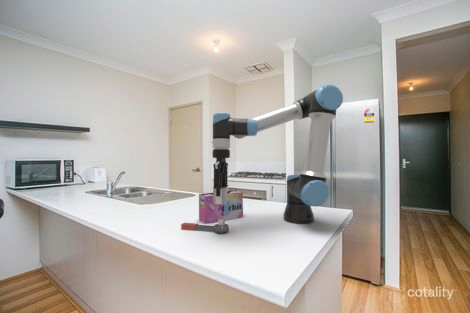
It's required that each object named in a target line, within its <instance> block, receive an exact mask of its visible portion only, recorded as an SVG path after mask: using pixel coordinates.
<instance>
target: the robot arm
mask: <svg viewBox="0 0 470 313" xmlns="http://www.w3.org/2000/svg"><path fill="white" fill-rule="evenodd" d="M343 101H344V96H343V93H342V91H341V90H340V88H339V87H337V86H336V85H334V84H330V83H329V84H324V85H322V86H319V87H318V88H317V89H315V90H314V91H312V92H310V93H308V94H307V95H305V96H304V97H302V98H300V99H298V100H295V101H293V103H292V104H290V105H287V106H284V107H280V108H278V109H276V110H273V111H269V112H266V113H263V114H260V115H258V116H255V117H252V118H234V117H231V114H230V113H229V112H220V111H219V112H215V113H214V114H213V116H212V140H211V144H212V148H213V149H212V159H216V160H215V163H213V164H212V165H213V166H212V167H213V187H212V188H216V196H215V204H222V188H221V186H227V187H228V186H229V184H228V174H229V172H228V171H229V170H228V167H229V163H228V162H227V161H226V159H230V158H231V151H230V148H231V136H232V137H234V138H236V139H243V138H246V137H255V136H257V134H258V133H260V132H262V131H265V130H268V129H271V128H273V127H277V126H280V125H283V124H285V123H288V122H291V121H294V120H298V121H299V120H303V119H306V118H310V119H311V120H310V126H309V131H308V132H309V133H308V139H307V148H306V152H305V160H304V167H303V170H302V171H301V172H300V173H299V174H290V175H289V174H288V175H287V176H286V206H285V208H284V212H283V220H284V221H285V222H289V223H293V224H310V223H313V222H314V221H315V215H314V213H313V209H312V207H319V206H321V205H323V204H324V203H325V204H326V202H327V200H328V199H329V196H330V188H329V187H328V185H327V176H326V174H325V173H324V172H325V166H326V165H325V164H326V160H327V159H326V158H327V151H328V146H329V145H328V144H329V138H330V131H331V123H332V121H333V120H334V119H335V118H336V115H337V110H338V109H339V108H340V107H341V106H342V104H343Z"/></svg>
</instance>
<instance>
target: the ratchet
mask: <svg viewBox="0 0 470 313" xmlns="http://www.w3.org/2000/svg"><path fill="white" fill-rule="evenodd" d="M225 221H226V220H225V218H219V219H218V222H217V224H214V225H206V224H199V223H194V222H183V223H181V224H180V228H181V230H185V231H186V230H187V231H201V232H213V233H215V234H216V235H217V234H218V235H224V234H229V233H230V224H227V223H225Z"/></svg>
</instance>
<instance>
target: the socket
mask: <svg viewBox="0 0 470 313" xmlns="http://www.w3.org/2000/svg"><path fill="white" fill-rule="evenodd" d="M212 188H213V187H212ZM221 188H222V204H221V205H225V204H226V203H227V202H228V191H229V187H228V186H221ZM212 190H213V192H212V193H213V204H215V196H216V188H213V189H212Z"/></svg>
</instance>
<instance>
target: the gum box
mask: <svg viewBox="0 0 470 313" xmlns="http://www.w3.org/2000/svg"><path fill="white" fill-rule="evenodd" d="M243 194H244V193H243V191H238V190H228V202H227V203H226V204H225V205H221V204H213V192H206V193H199V194H198V220H199V221H200V222H201V223H203V224H204V225H206V224H211V223H212V224H213V223H218V219H219V218H225V221H228V220H233V219H238V218H239V219H241V218H243V217H244V202H243V201H244V200H243V199H244V198H243V197H244V196H243Z"/></svg>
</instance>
